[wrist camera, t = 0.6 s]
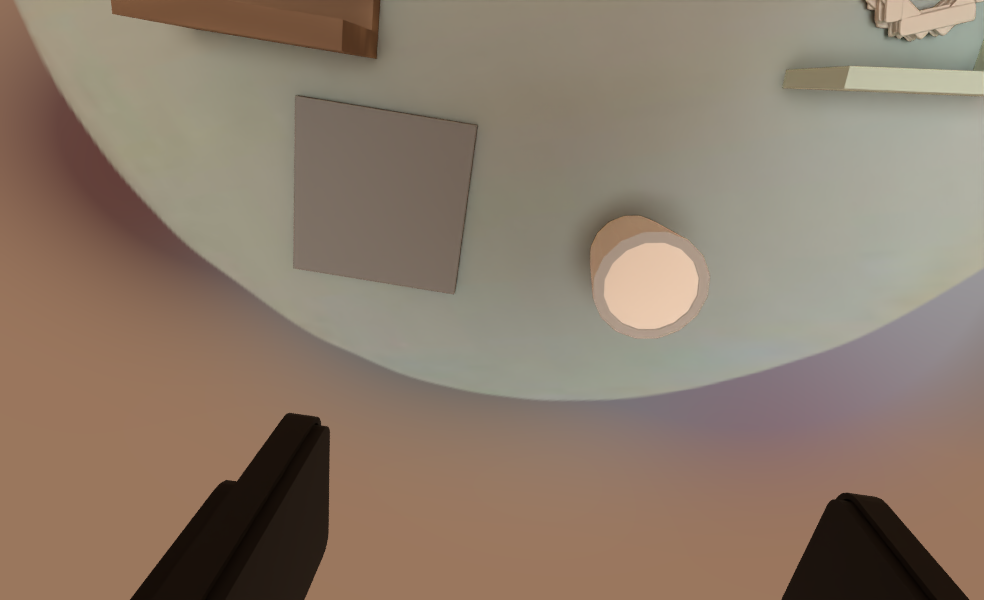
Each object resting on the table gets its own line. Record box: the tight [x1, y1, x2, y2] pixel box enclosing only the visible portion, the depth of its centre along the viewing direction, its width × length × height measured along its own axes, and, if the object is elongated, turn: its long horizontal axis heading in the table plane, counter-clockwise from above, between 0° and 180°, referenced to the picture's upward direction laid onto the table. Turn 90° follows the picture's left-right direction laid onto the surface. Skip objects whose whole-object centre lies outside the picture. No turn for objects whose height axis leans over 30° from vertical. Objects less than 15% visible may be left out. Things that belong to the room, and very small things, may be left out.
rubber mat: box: [293, 96, 477, 294], centre depth 37 cm, size 12×12×1 cm
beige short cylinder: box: [590, 216, 710, 338], centre depth 34 cm, size 7×7×7 cm
